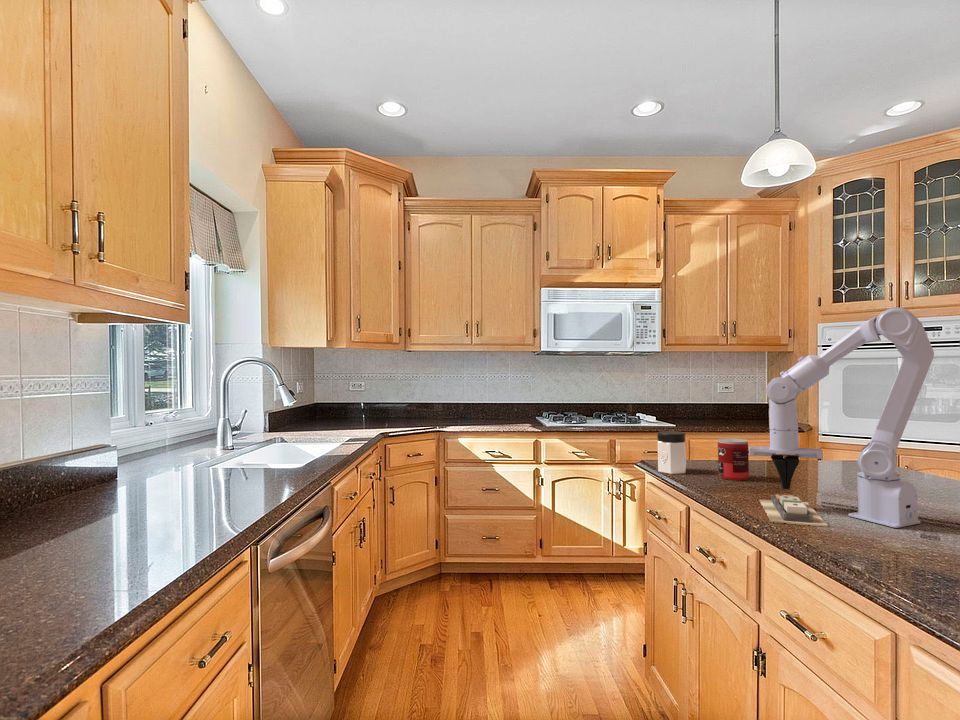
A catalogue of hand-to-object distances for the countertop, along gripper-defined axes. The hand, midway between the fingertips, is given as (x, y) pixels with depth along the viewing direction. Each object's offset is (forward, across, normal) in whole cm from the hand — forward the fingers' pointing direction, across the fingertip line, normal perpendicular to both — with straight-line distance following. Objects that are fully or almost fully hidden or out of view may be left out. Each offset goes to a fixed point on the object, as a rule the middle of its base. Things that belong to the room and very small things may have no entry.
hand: (785, 488), depth 120 cm
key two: (+2, 0, +6) cm, 6 cm away
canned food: (+4, +10, -28) cm, 30 cm away
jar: (+4, +27, -33) cm, 43 cm away
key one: (+2, 0, +11) cm, 11 cm away
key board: (+4, 0, +6) cm, 7 cm away
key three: (+3, 0, 0) cm, 3 cm away
